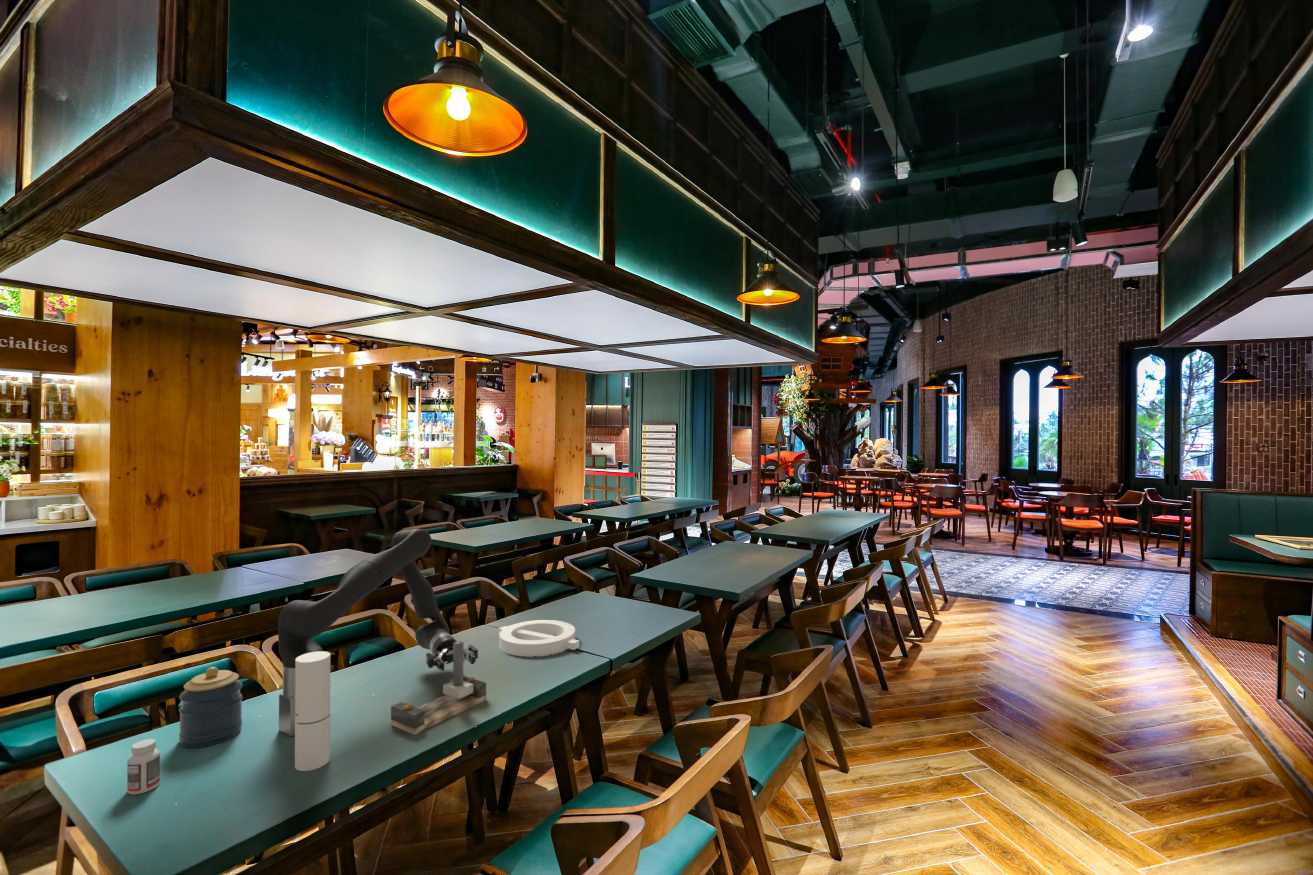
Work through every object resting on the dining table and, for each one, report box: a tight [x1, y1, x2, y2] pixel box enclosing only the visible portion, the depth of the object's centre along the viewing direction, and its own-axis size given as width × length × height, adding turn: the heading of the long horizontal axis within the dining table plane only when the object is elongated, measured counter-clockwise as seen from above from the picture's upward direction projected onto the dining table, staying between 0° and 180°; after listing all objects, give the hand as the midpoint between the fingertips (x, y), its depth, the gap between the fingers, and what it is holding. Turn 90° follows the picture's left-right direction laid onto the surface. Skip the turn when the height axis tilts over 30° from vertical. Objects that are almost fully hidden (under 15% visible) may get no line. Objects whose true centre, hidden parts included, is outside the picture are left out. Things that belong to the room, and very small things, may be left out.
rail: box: [390, 675, 487, 735], centre depth 164 cm, size 24×10×6 cm, turn 148°
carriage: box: [442, 640, 473, 699], centre depth 169 cm, size 5×7×14 cm
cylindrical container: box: [294, 650, 331, 772], centre depth 138 cm, size 7×7×25 cm
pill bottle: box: [126, 738, 161, 795], centre depth 128 cm, size 5×5×10 cm
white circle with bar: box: [498, 619, 580, 658], centre depth 220 cm, size 28×28×5 cm
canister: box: [178, 666, 243, 749], centre depth 150 cm, size 13×13×18 cm
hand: (458, 663), depth 169 cm, fingers open, 8 cm apart
